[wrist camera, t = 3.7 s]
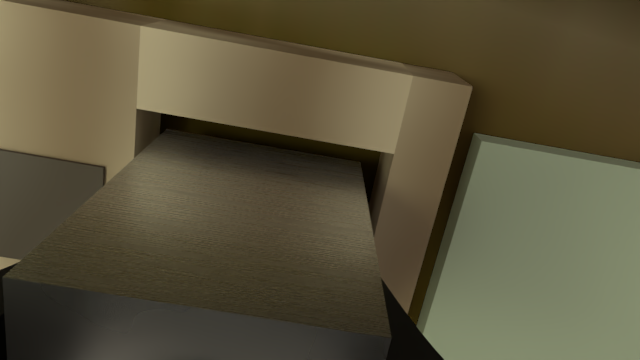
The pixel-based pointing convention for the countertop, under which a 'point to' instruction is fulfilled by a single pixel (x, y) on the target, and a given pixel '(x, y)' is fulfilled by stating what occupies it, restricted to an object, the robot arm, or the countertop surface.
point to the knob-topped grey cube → (207, 262)
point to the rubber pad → (538, 257)
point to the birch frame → (207, 115)
